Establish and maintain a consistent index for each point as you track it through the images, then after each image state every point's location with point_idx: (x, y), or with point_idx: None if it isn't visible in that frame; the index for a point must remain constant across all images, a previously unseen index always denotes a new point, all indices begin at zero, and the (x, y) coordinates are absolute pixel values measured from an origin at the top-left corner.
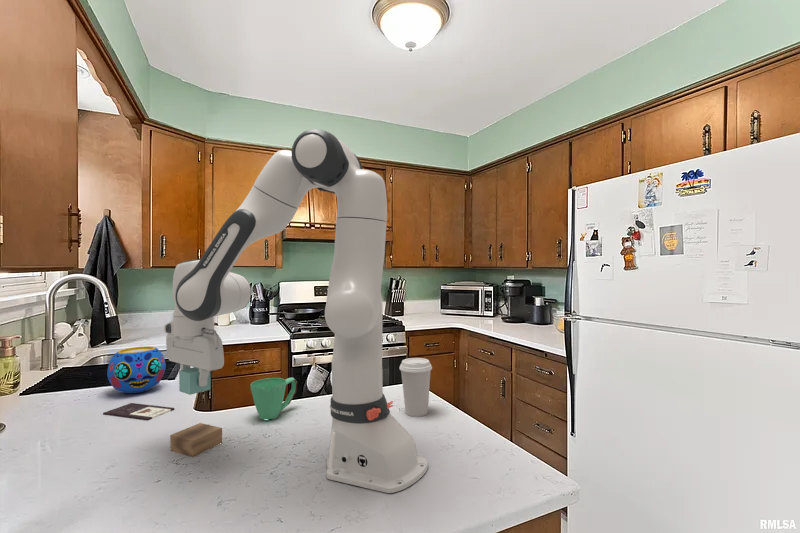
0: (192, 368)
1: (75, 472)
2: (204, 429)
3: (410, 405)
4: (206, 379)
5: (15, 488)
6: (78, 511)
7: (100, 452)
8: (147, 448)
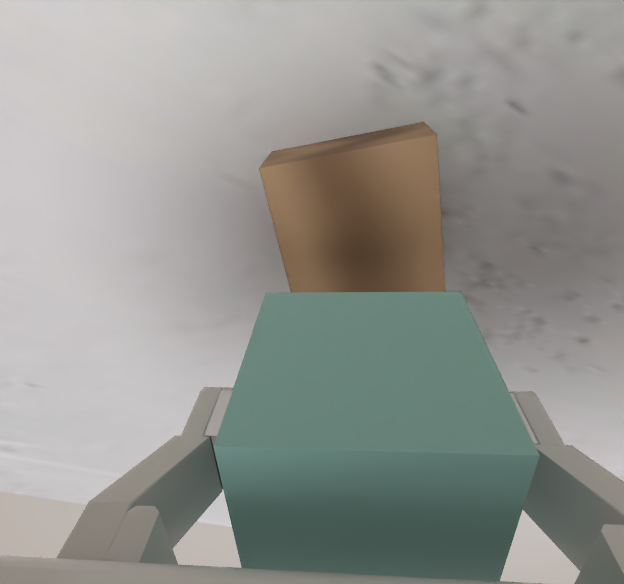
0: (276, 530)
1: None
2: (368, 200)
3: None
4: (554, 437)
5: (221, 517)
6: None
7: (137, 392)
8: (215, 314)
